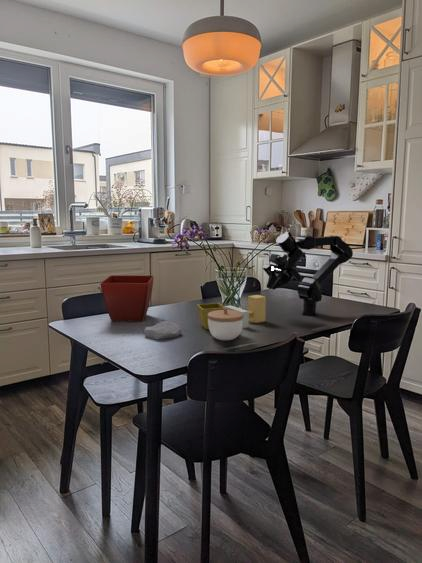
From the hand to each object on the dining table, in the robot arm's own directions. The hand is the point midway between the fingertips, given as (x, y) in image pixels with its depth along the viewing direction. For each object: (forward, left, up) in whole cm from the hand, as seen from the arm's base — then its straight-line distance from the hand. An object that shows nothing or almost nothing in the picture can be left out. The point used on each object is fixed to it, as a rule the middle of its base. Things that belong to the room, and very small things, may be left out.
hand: (269, 288), depth 179 cm
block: (+6, -6, -13) cm, 15 cm away
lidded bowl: (+29, -13, -14) cm, 34 cm away
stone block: (+30, -35, -14) cm, 48 cm away
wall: (+12, -12, -13) cm, 21 cm away
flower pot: (+17, -21, -14) cm, 30 cm away
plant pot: (+9, -58, -14) cm, 60 cm away
